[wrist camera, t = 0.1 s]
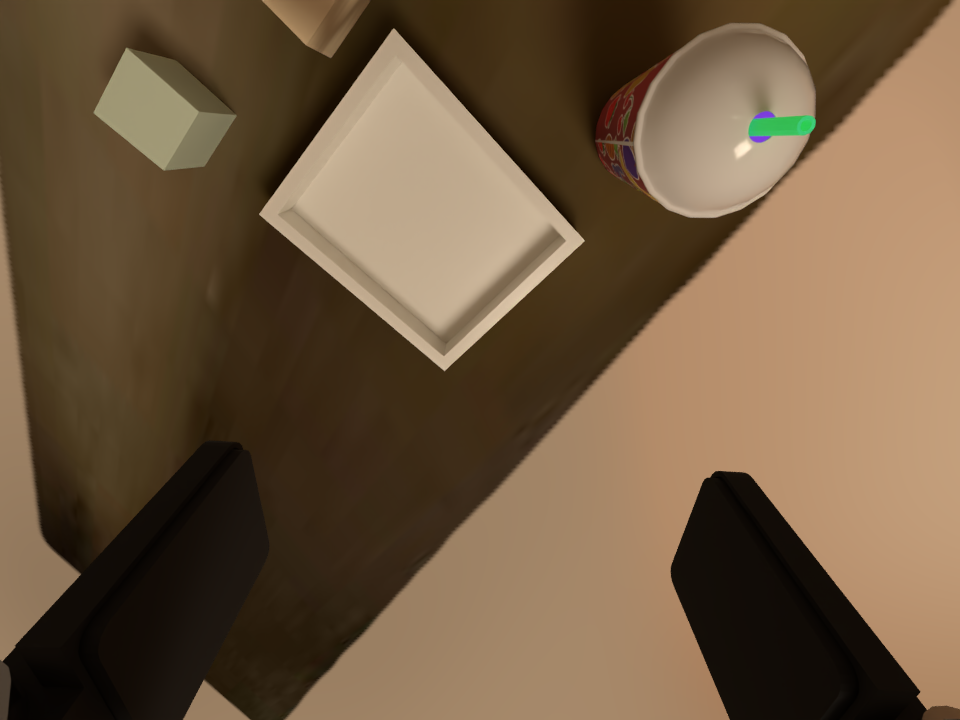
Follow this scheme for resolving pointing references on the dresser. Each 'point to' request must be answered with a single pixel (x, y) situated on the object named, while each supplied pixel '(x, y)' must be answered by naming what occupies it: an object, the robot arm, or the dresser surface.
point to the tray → (419, 208)
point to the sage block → (163, 111)
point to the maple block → (319, 20)
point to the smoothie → (711, 121)
